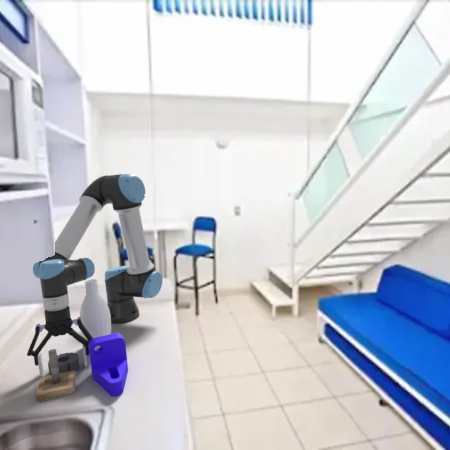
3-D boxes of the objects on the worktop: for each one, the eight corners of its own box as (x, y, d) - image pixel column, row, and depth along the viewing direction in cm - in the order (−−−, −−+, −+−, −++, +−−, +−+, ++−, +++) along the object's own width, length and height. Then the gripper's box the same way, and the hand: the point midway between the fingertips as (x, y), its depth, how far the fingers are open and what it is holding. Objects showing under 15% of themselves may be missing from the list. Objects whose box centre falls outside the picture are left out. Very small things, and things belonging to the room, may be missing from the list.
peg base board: (41, 383, 118) (36, 346, 116) (75, 375, 121) (71, 340, 119) (36, 402, 107) (31, 362, 106) (73, 393, 111) (69, 354, 109)
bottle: (93, 338, 149) (86, 276, 146) (118, 339, 147) (112, 276, 144) (76, 351, 138) (68, 285, 135) (104, 352, 136) (96, 285, 133)
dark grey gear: (51, 367, 128) (49, 356, 127) (79, 361, 131) (78, 350, 130) (48, 380, 119) (47, 368, 119) (78, 373, 122) (77, 361, 122)
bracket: (91, 373, 122) (87, 339, 120) (125, 365, 126) (122, 331, 125) (97, 402, 106) (93, 362, 104) (136, 391, 110) (132, 353, 109)
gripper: (11, 318, 115) (20, 383, 117) (97, 304, 123) (103, 365, 125) (16, 310, 122) (24, 372, 124) (96, 298, 130) (103, 356, 132)
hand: (64, 369), depth 125 cm, fingers open, 13 cm apart
